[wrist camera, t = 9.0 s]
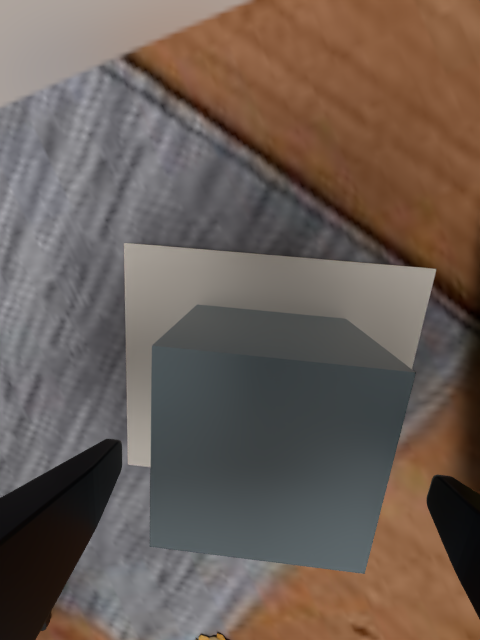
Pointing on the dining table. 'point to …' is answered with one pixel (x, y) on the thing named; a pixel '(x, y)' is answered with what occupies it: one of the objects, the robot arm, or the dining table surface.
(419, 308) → the base plate
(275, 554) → the slate grey cube
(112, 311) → the dining table surface
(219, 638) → the green and yellow piece
